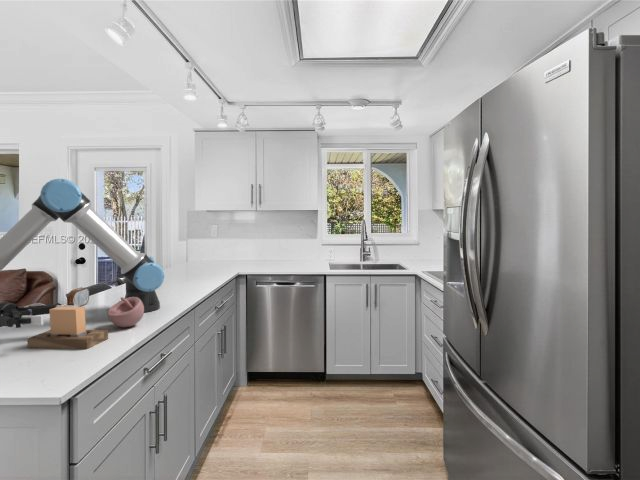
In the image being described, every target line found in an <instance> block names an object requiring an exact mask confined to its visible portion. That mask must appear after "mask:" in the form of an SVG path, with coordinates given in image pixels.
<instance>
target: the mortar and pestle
mask: <svg viewBox="0 0 640 480" xmlns="http://www.w3.org/2000/svg"><path fill="white" fill-rule="evenodd" d="M144 315H145V312H144V305H143V303H142V301H141V300H140V299H139V298H138V297H129V298H125V297H123V296H122V297H121V296H120V300H119V301H118V302H116V303H114V304H113V305H112V306H111V307H110V308H109V310H108V311H107V317H108V319H109V321H110V322H111V323H112V324H113V325H114V326H116V327H119V328H131V327H134V326H135V325H137V324H138V323H139V322H140V321H141V319H143V317H144Z"/></svg>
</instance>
